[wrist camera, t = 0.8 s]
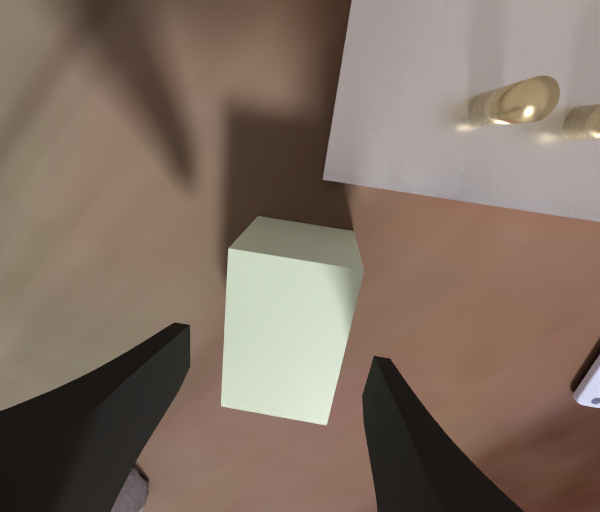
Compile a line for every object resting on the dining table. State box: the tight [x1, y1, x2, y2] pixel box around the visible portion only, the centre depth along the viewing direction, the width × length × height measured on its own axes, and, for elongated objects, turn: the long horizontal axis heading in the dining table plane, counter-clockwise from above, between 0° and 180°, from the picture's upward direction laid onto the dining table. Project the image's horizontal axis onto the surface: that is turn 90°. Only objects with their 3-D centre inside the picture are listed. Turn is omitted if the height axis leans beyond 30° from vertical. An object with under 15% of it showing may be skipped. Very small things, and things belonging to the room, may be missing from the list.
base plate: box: [323, 0, 600, 222], centre depth 9 cm, size 15×13×4 cm
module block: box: [221, 216, 364, 425], centre depth 14 cm, size 5×8×5 cm, turn 172°
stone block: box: [111, 468, 149, 512], centre depth 24 cm, size 12×5×10 cm
